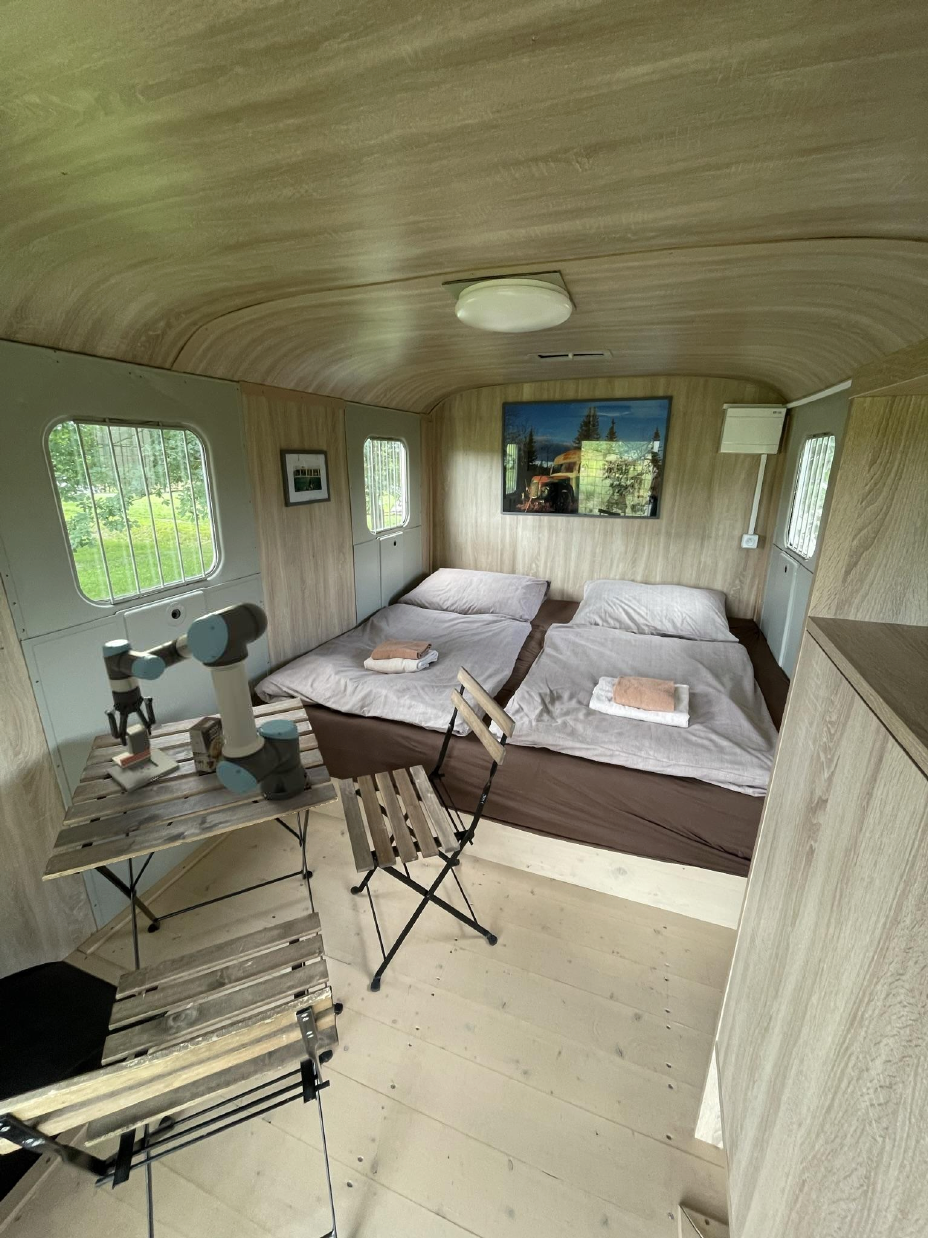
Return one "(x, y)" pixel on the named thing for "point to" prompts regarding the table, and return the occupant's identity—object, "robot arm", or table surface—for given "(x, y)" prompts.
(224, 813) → the table surface
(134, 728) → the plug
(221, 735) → the coffee box
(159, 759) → the socket plate
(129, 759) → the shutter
